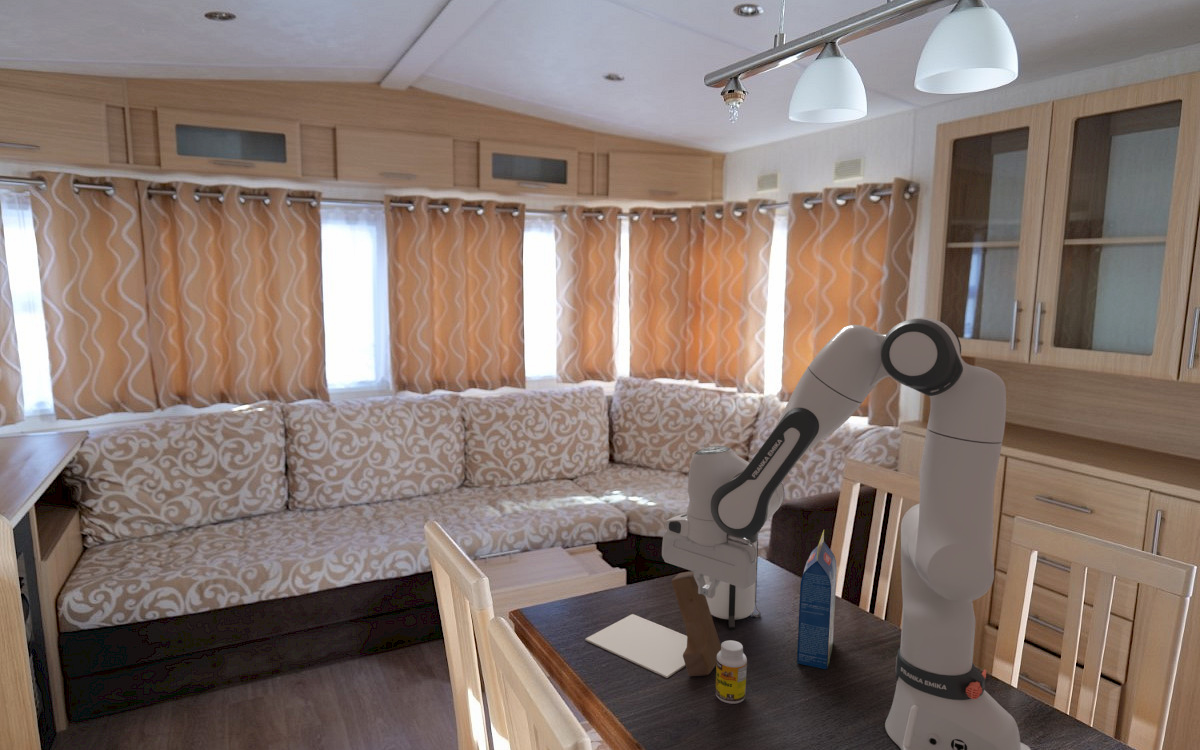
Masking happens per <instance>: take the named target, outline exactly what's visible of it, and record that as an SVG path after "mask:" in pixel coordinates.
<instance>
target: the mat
mask: <svg viewBox="0 0 1200 750" xmlns="http://www.w3.org/2000/svg"><path fill="white" fill-rule="evenodd" d="M584 640H585V641H586V642H588V643H590V644H592V645H594V646H597V647H599V648H601V649H603V650H606V651H608V652H610V653H612V654H613V655H616V656H618V657H620V658H623V659H625V660H626V661H629V662H631V663H634V664H635V665H637V666H640V667H641V668H644V669H646V670H648V671H651V672H653V673H655V674H656V675H659V676H662V677H664V678H666V679H668V678H669V677H671V676H672V675H674V674H676V673H677V672H679V671H680V670H682V669H684V668H686V665H685V662H684V659H683V653H684V651H685V649H686V648H687V634H686V635H685V634H684V633H683V634H682V633H681V632H678V631H676V630H673V629H671V628H668V627H665V626H663V625H660V624H658V623H656V622H654V621H651V620H649V619H645V618H644V617H641V616H639V615H636V614H634V613H632V614H629V615H627V616H625V617H624V618H622V619H620V620H618V621H616V622H614V623H613V624H610V625H608V626H607V627H605V628H603V629H601V630H599V631H597V632H595V633H593V634H591V635H589V636H587V637H586V638H585V639H584Z"/></svg>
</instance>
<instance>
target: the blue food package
mask: <svg viewBox="0 0 1200 750" xmlns="http://www.w3.org/2000/svg"><path fill="white" fill-rule="evenodd" d="M824 539H825V529H823V531H822V533H821V536H820V539H819V542H818V544H817V546H816V547H815V548H814V549H812V551H811V553H810V555H809V557H808V559H807V560H806V563H805V566H804V569H803V573H802V576H801V580H800V585H799V586H800V587H799V606H798V607H799V609H798V630H797V631H798V632H797V651H796V653H797V654H796V655H797V656H796V663H797V664H800V665H804V666H808V667H813V668H818V669H824V670H827V669H828V666H829V665H830V659H831V656H832V651H833V643H834V631H835V629H834V627H835V613H836V612H835V608H836V592H837V591H836V590H837V587H836V586H837V569H838V568H837V566H838V565H837V559H836V557H835V554H834V553H833V551H832V550H831V549H830V548H829V546H828V545H827V544H826V542H825V540H824Z"/></svg>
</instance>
